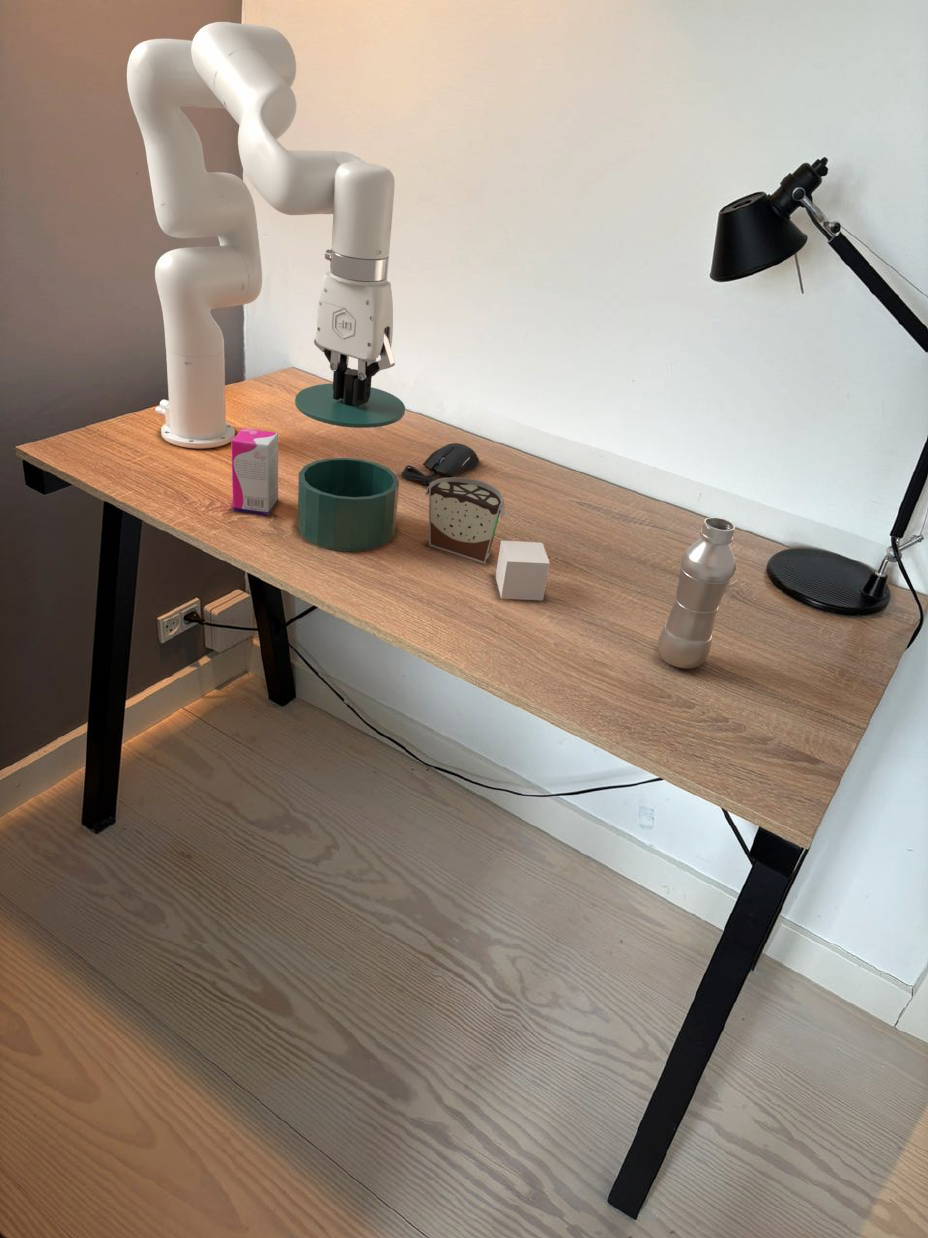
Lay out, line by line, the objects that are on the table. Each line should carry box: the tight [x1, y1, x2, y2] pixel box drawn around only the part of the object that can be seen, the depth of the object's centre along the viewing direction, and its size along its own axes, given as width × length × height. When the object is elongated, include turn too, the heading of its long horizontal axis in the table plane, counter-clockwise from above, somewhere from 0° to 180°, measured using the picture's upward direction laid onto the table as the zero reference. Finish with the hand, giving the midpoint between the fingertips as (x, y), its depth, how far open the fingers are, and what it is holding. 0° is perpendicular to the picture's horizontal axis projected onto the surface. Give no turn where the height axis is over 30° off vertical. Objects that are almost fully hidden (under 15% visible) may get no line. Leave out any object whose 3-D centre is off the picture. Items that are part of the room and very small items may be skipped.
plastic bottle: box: [657, 516, 737, 670], centre depth 117 cm, size 6×7×20 cm
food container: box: [424, 476, 506, 565], centre depth 140 cm, size 12×6×10 cm, turn 65°
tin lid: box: [294, 368, 406, 429], centre depth 133 cm, size 16×16×6 cm
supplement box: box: [230, 427, 279, 516], centre depth 143 cm, size 6×6×12 cm
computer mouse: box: [401, 442, 480, 487], centre depth 163 cm, size 12×17×4 cm
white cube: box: [495, 540, 551, 601], centre depth 132 cm, size 6×6×6 cm
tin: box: [297, 457, 400, 552], centre depth 141 cm, size 15×15×8 cm
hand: (350, 399), depth 133 cm, fingers closed on tin lid, 2 cm apart
